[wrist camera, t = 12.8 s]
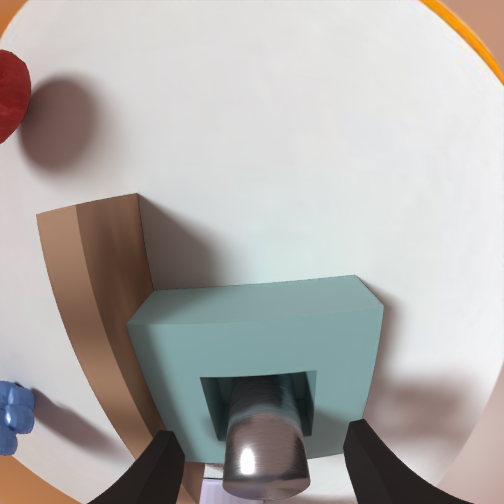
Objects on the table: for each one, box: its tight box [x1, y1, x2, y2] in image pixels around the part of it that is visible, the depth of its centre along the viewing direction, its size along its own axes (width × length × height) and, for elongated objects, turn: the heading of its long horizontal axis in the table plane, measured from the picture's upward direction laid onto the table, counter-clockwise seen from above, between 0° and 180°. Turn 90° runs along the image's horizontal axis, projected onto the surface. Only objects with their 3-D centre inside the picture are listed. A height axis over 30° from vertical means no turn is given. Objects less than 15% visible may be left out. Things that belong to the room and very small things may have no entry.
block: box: [126, 275, 384, 464], centre depth 13 cm, size 10×10×4 cm
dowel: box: [222, 373, 310, 501], centre depth 10 cm, size 3×3×7 cm
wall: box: [36, 193, 205, 504], centre depth 12 cm, size 20×2×5 cm, turn 5°
